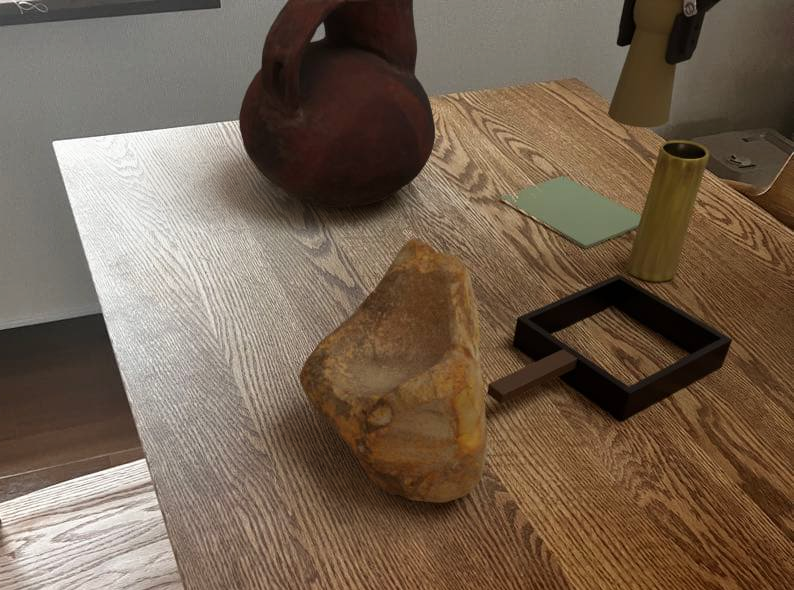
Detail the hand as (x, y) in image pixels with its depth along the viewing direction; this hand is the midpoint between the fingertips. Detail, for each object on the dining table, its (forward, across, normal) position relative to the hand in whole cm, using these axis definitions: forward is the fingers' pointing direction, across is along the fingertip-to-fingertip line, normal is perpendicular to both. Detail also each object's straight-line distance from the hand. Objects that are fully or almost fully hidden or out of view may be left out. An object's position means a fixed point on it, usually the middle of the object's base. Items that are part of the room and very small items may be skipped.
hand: (653, 50), depth 78 cm
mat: (+25, +15, -12) cm, 32 cm away
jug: (+25, +39, +9) cm, 47 cm away
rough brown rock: (+25, -6, +35) cm, 44 cm away
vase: (+25, -1, -9) cm, 27 cm away
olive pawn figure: (+6, 0, 0) cm, 6 cm away
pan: (+25, -10, +13) cm, 30 cm away
